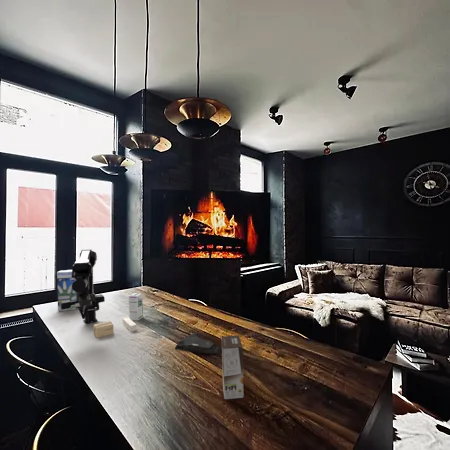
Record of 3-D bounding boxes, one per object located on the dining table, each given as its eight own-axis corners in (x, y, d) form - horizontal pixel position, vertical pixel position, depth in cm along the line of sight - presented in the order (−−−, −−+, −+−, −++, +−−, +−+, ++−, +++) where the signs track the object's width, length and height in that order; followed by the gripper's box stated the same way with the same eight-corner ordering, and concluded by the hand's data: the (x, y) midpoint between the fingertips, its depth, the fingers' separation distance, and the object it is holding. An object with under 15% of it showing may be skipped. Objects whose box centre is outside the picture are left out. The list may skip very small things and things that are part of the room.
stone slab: (230, 353, 115) (230, 342, 114) (203, 370, 102) (203, 358, 102) (196, 334, 130) (196, 325, 129) (169, 348, 117) (169, 337, 117)
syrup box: (138, 320, 149) (137, 295, 149) (129, 320, 151) (128, 295, 151) (143, 317, 155) (142, 293, 155) (134, 316, 156) (133, 292, 156)
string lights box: (57, 311, 170) (56, 272, 170) (61, 307, 178) (60, 270, 178) (79, 309, 174) (78, 270, 173) (82, 305, 181) (81, 268, 181)
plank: (122, 323, 145) (122, 318, 145) (128, 322, 147) (128, 317, 147) (130, 331, 134) (130, 326, 134) (136, 330, 136) (136, 324, 136)
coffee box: (244, 398, 81) (243, 347, 81) (224, 399, 81) (222, 348, 81) (240, 380, 90) (239, 334, 90) (222, 381, 90) (220, 335, 90)
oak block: (93, 334, 133) (93, 324, 133) (110, 330, 138) (110, 320, 138) (96, 338, 128) (96, 328, 128) (113, 333, 133) (113, 324, 133)
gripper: (61, 294, 115) (63, 329, 115) (106, 287, 126) (107, 318, 127) (59, 289, 124) (60, 321, 124) (101, 283, 135) (102, 312, 135)
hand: (83, 318), depth 127 cm, fingers closed
